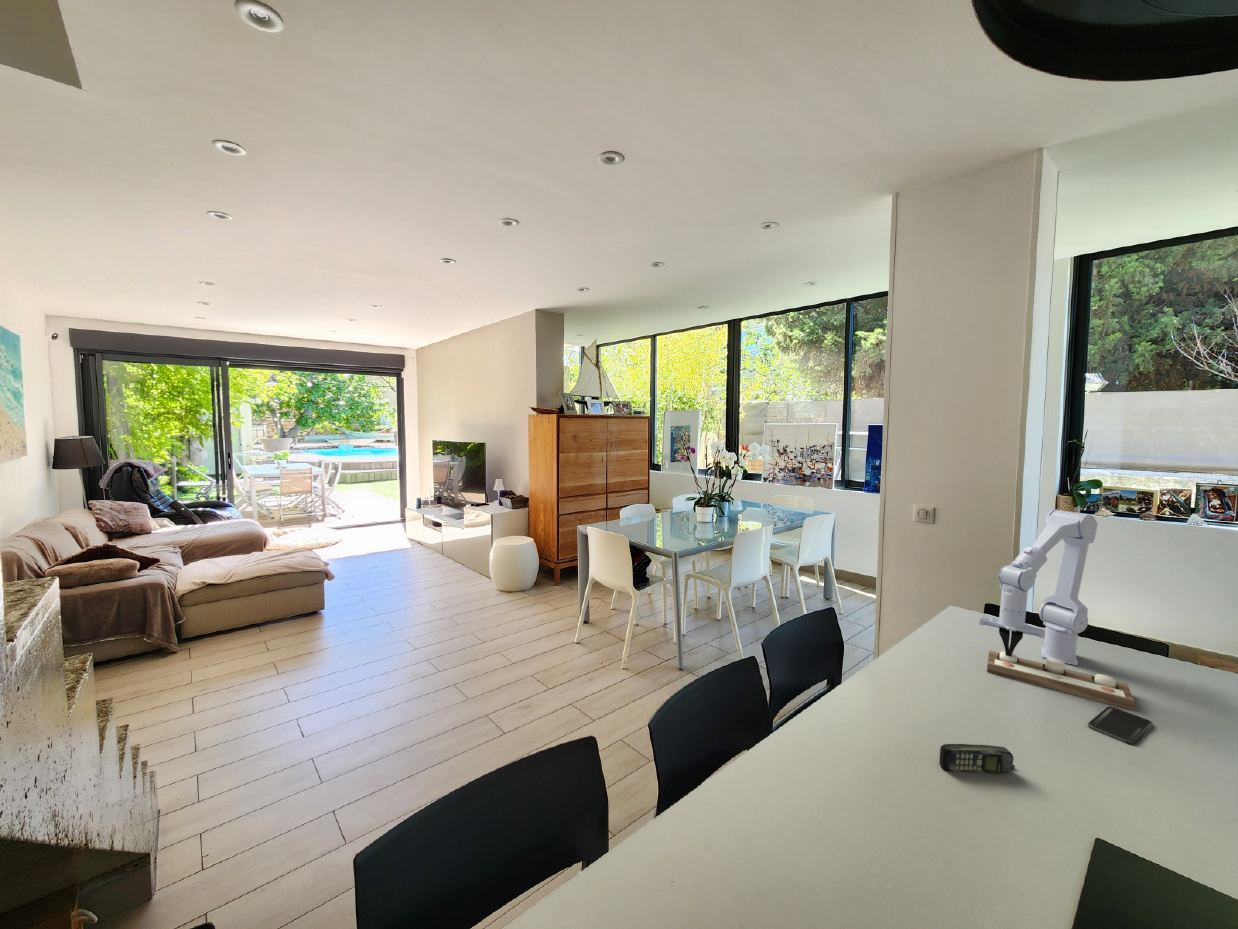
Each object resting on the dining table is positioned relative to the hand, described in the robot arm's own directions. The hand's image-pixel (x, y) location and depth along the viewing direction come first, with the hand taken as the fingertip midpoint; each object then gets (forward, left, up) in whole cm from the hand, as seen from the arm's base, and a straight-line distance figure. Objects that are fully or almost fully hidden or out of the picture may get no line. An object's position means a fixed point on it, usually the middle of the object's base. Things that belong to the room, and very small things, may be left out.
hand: (1008, 655), depth 143 cm
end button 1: (0, +20, -2) cm, 20 cm away
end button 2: (0, 0, -2) cm, 2 cm away
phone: (+18, +21, -4) cm, 28 cm away
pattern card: (+5, +10, -1) cm, 11 cm away
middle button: (0, +10, -1) cm, 10 cm away
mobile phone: (+57, -4, -4) cm, 57 cm away
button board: (+2, +10, -4) cm, 11 cm away
